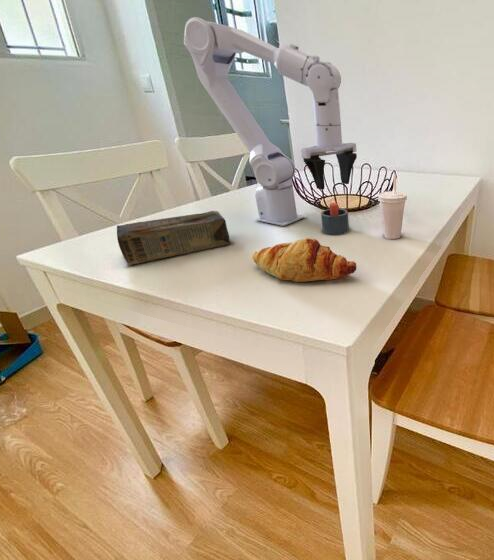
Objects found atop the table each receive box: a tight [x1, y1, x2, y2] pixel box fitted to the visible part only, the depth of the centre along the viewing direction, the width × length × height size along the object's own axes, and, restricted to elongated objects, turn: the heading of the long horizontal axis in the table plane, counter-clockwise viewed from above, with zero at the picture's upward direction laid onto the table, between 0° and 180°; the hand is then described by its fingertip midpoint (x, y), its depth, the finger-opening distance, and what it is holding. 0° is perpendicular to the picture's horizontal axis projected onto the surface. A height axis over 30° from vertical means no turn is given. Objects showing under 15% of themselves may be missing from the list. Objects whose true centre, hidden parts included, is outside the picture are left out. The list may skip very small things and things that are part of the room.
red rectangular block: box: [329, 202, 339, 216], centre depth 81 cm, size 2×2×6 cm
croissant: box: [252, 237, 357, 283], centre depth 62 cm, size 21×10×8 cm, turn 74°
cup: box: [320, 208, 350, 236], centre depth 82 cm, size 6×6×4 cm
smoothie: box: [377, 173, 408, 240], centre depth 76 cm, size 6×6×14 cm
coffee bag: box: [116, 210, 231, 266], centre depth 71 cm, size 8×19×7 cm, turn 126°
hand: (333, 186), depth 83 cm, fingers open, 7 cm apart
